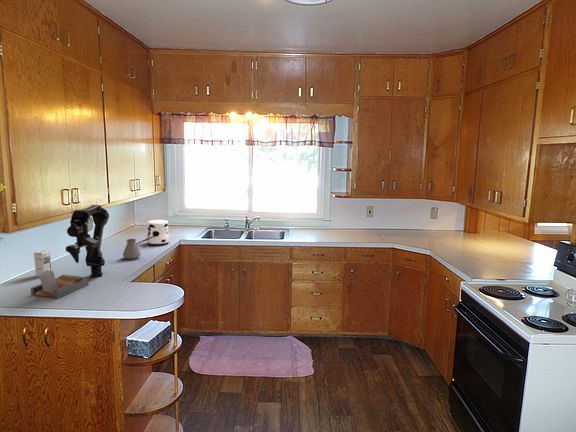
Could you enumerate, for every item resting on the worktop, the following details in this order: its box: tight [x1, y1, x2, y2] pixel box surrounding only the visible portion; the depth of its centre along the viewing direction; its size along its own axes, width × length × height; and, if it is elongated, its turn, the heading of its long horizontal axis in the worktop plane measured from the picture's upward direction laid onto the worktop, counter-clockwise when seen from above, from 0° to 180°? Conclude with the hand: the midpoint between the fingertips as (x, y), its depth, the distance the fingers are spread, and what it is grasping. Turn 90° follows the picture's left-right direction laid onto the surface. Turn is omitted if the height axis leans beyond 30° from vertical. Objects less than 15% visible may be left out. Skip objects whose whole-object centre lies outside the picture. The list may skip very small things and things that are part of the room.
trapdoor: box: [35, 274, 82, 299], centre depth 210 cm, size 19×12×4 cm, turn 166°
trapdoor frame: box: [30, 276, 90, 300], centre depth 211 cm, size 22×16×4 cm
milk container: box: [146, 219, 171, 246], centre depth 318 cm, size 17×17×18 cm
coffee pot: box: [122, 236, 155, 260], centre depth 276 cm, size 21×12×15 cm, turn 108°
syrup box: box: [33, 249, 52, 278], centre depth 234 cm, size 6×6×14 cm
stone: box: [38, 270, 58, 293], centre depth 203 cm, size 4×4×10 cm
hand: (83, 260), depth 221 cm, fingers open, 9 cm apart
